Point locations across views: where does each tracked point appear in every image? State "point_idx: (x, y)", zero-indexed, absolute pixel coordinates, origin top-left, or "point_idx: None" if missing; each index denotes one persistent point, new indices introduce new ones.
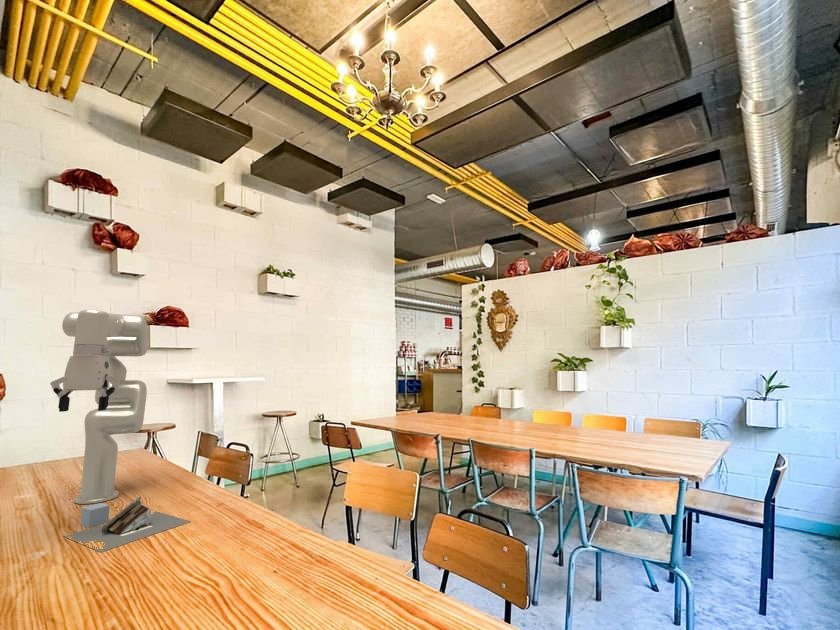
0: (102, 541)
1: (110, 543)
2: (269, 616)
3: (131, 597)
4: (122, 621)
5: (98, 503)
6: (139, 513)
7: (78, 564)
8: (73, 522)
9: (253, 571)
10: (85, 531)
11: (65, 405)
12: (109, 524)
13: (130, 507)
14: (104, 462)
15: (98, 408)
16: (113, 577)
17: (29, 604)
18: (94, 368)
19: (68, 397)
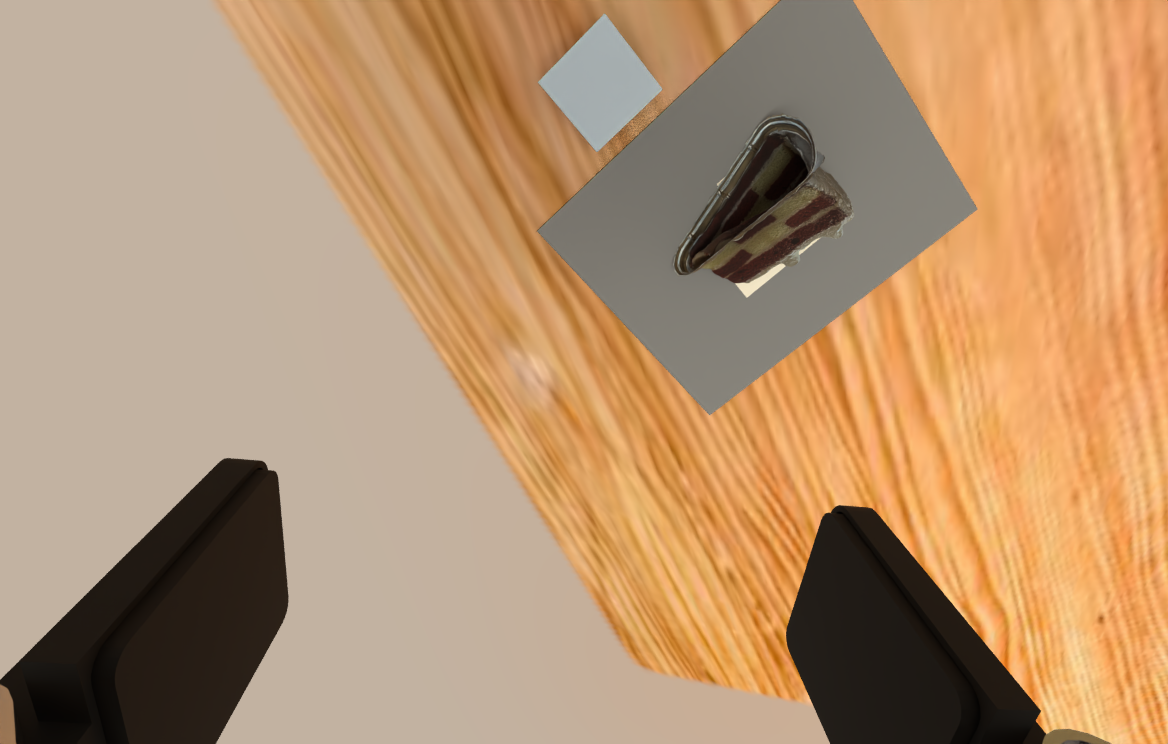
0: (692, 328)
1: (722, 354)
2: None
3: None
4: None
5: (596, 27)
6: (808, 228)
7: (675, 475)
8: (494, 33)
9: (1060, 609)
10: (598, 198)
11: (236, 619)
12: (701, 267)
13: (776, 206)
14: None
15: (799, 665)
16: (776, 562)
17: (645, 625)
18: None
19: (91, 684)
